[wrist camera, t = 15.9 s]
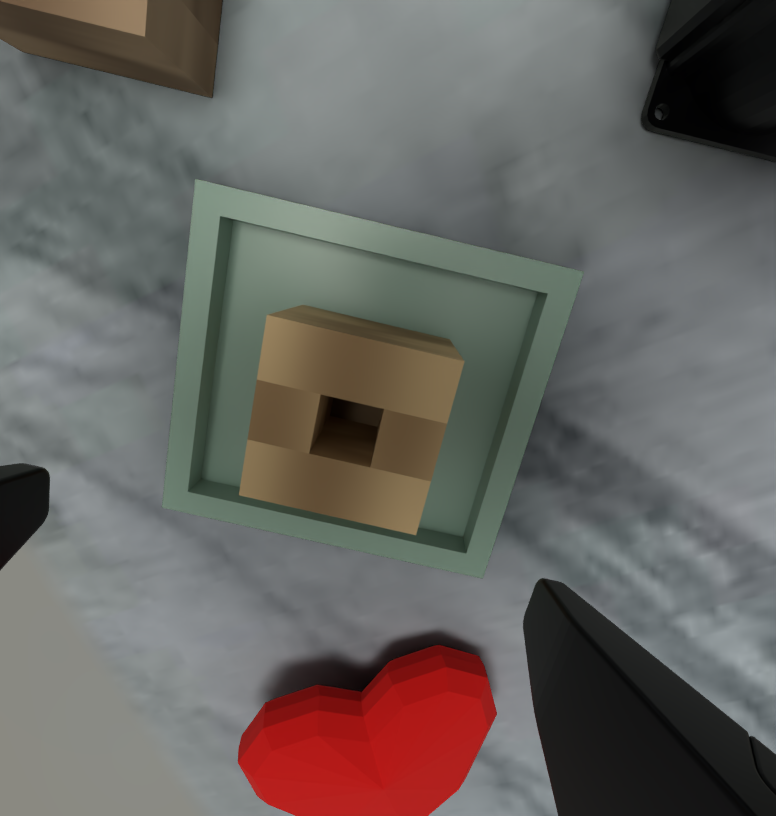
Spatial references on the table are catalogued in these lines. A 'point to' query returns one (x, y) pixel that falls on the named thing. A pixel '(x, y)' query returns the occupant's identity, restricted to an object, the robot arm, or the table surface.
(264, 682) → the table surface
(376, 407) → the oak block
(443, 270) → the green tray
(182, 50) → the walnut block
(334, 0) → the table surface
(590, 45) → the table surface
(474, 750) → the heart
